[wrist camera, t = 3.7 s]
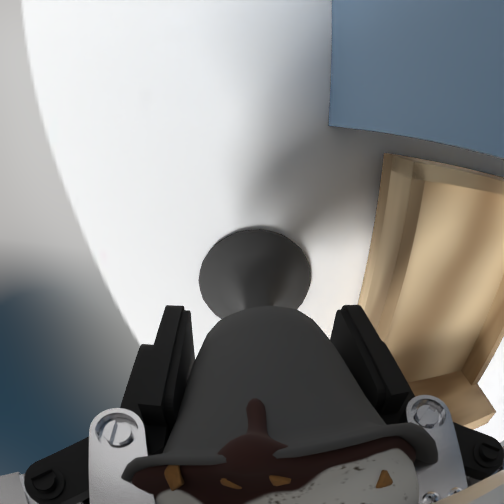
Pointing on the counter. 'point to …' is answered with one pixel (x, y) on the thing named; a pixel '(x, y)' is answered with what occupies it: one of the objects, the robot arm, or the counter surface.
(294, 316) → the sundae
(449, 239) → the tray
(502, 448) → the robot arm
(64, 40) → the counter surface
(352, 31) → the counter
